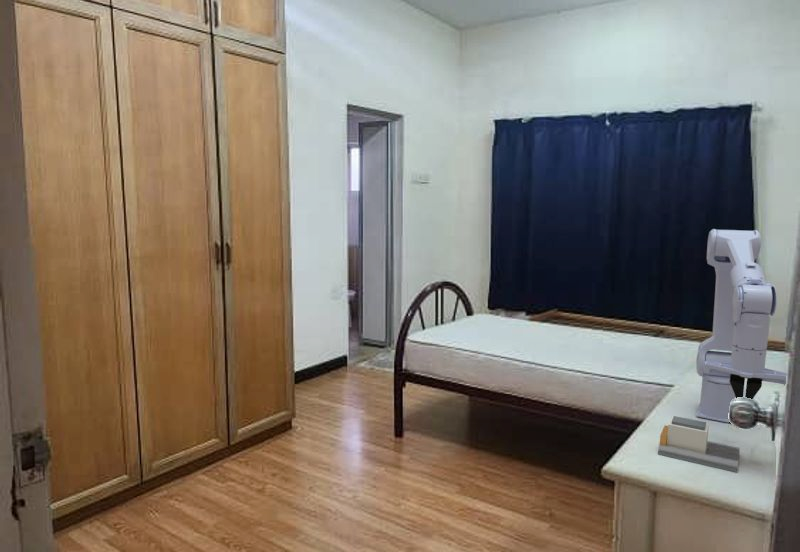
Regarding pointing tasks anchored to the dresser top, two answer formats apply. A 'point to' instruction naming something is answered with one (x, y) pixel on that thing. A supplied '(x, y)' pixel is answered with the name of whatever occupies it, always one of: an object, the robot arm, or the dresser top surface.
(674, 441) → the block
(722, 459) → the rail plate
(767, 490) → the dresser top surface
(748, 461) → the dresser top surface
